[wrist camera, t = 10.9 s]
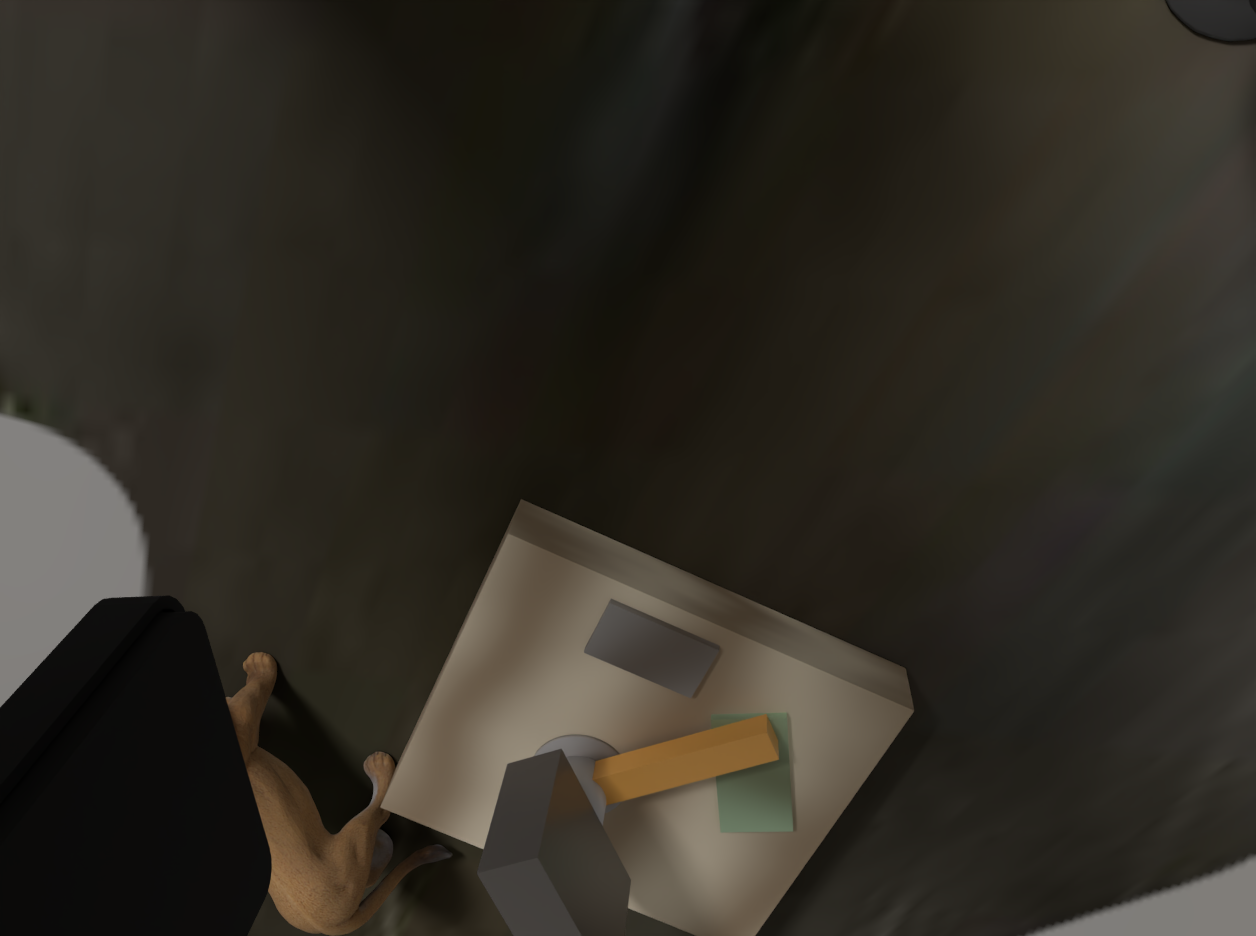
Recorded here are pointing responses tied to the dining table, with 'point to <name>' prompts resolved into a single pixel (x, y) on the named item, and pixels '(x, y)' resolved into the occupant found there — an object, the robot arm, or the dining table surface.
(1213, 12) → the sundae
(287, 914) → the lion figurine
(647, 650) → the dial board
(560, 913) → the latch
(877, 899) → the dining table surface
